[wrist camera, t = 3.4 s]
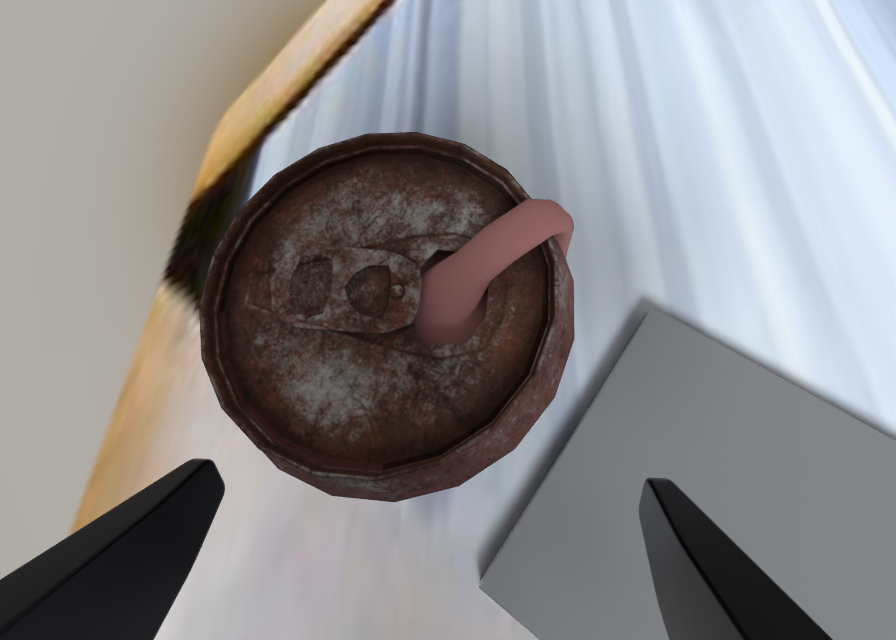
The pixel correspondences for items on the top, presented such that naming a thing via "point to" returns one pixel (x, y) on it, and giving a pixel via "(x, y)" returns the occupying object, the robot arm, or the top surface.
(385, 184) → the can
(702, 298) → the top surface
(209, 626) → the top surface
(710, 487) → the plate
